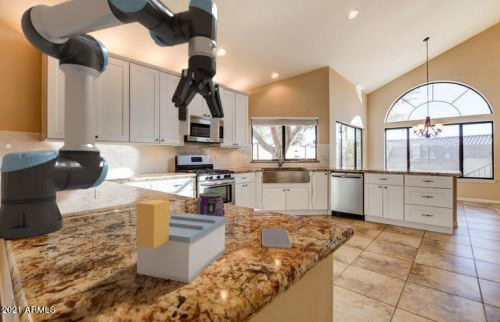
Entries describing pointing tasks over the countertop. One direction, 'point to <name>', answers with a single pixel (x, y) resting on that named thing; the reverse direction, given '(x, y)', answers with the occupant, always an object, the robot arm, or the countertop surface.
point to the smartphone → (275, 238)
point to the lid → (170, 224)
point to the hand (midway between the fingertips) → (200, 137)
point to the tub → (182, 257)
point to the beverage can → (210, 204)
